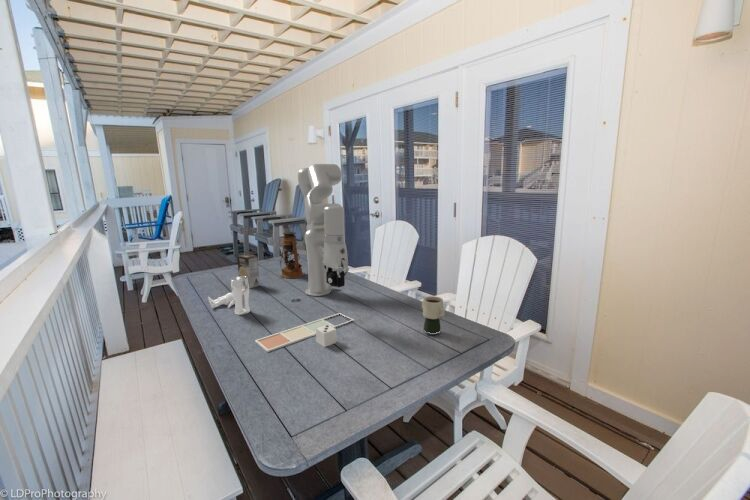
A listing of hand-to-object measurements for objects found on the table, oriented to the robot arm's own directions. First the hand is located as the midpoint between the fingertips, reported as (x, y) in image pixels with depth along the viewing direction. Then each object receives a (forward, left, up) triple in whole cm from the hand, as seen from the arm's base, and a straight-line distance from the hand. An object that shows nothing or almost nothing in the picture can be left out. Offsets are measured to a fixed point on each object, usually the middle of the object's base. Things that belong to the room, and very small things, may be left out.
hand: (335, 283), depth 134 cm
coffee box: (+7, -67, -16) cm, 69 cm away
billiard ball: (0, 0, -1) cm, 1 cm away
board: (+13, 0, -15) cm, 20 cm away
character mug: (-20, +32, -16) cm, 41 cm away
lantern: (-19, -69, -16) cm, 73 cm away
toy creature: (+26, -48, -16) cm, 57 cm away
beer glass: (+24, -34, -16) cm, 44 cm away
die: (+13, +12, -15) cm, 24 cm away
